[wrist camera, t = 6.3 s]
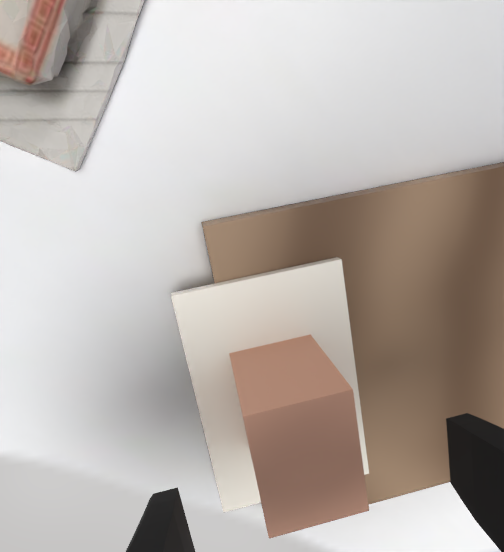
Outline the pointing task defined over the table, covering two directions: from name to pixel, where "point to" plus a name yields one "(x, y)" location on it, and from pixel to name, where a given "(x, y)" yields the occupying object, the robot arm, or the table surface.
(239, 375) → the stub
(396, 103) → the table surface
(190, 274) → the table surface
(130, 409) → the table surface
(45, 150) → the packaged product
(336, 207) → the board
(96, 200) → the table surface
